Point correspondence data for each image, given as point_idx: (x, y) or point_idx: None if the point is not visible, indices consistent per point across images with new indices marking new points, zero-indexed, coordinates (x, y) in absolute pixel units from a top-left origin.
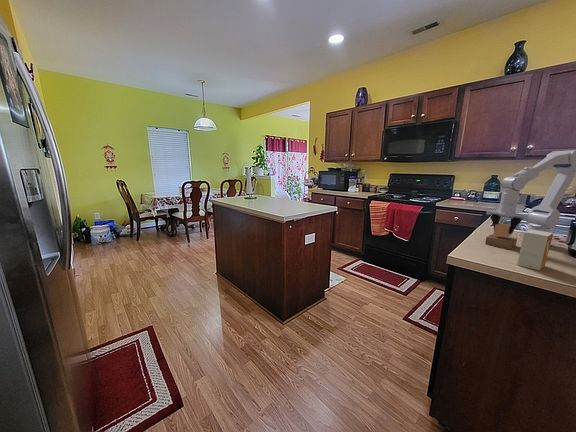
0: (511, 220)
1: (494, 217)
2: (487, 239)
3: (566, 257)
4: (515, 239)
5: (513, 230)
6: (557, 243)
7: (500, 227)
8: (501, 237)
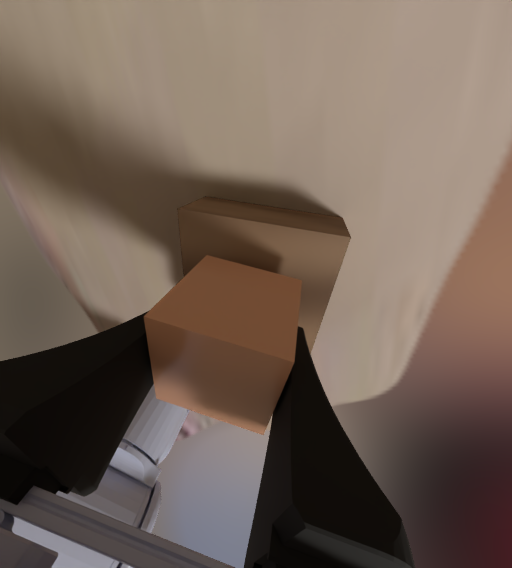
0: (34, 398)
1: (324, 515)
2: (336, 229)
3: (49, 251)
4: None
5: None
6: None
7: (238, 320)
8: None
